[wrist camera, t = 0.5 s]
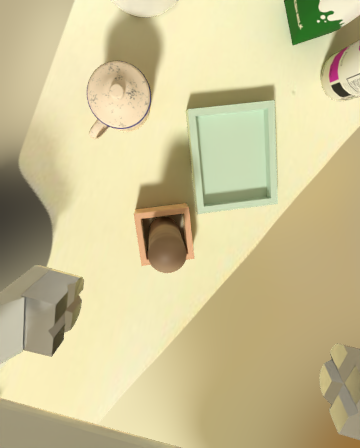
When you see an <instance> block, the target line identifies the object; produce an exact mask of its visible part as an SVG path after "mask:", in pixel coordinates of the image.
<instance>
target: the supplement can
mask: <svg viewBox="0 0 360 448" xmlns="http://www.w3.org/2000/svg"><path fill="white" fill-rule="evenodd" d="M321 84H322V88H323V90H324V92H325V94H326V95H327V96H328V97H329V98H331V99H332V100H336V101H346V100H350V99H353V98H357V97H360V40H359V41H357V42H355V43H353V44H352V45H350V46H348V47H346V48H345V49H343V50H341V51H339V52H337V53H336V54H334V55H332V56H331V57H330V58H329V59H328V60H327V61H326V63H325V65H324V67H323V69H322V74H321Z"/></svg>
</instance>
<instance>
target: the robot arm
mask: <svg viewBox="0 0 360 448" xmlns="http://www.w3.org/2000/svg"><path fill="white" fill-rule="evenodd" d="M111 1H112V2H113V3H114V4H115V5H116V6H117V7H119V8H120V9H121V10H123V11H125V12H126V13H128V14H131V15H134V16H138V17H154V16H157V15H160V14H162V13H165V12H166V11H168V10H169V9H170V8H172V7H173V6H174V5H175V4H176V3H177V1H178V0H111ZM83 285H84V279H83V277H80V276H77V275H73V274H70V273H66V272H63V271H59V270H55V269H52V268H48V267H44V266H40V265H35V266H33V267H32V268H31V269H29V270H28V271H27V272H26V273H24V274H23V275H22V276H20V277H19V278H18V279H17V280H15V281H14V282H13V283H11V284H10V285H9V286H8V287H6V288H5V289H4V290H3V291H0V364H1V363H3V362H5V361H7V360H8V359H10V358H12V357H14V356H16V355H17V354H19V353H21V352H22V351H23V350H25V351H30V352H34V353H38V354H42V355H47V356H51V357H52V356H53V354H54V353H55V351H56V350H57V348H58V347H59V346H60V344H61V343H62V341H63V340H64V332H67V331H69V330H71V329H72V327H73V326H74V324H75V322H76V320H77V318H78V316H79V313H80V309H81V303H82V300H81V298H80V296H79V294H80V292H81V291H82V290H83ZM330 355H331V358H332V360H330V361H328V362H326V363H324V365H323V367H322V369H321V371H320V379H319V383H320V389H321V391H322V394H323V397H324V398H325V399H326V400H327V401H328V402H329V403H330V404H331V407H330V410H329V412H330V414H331V416H332V419H333V421H334V424H335V426H336V429H337V431H338V433H339V434H342V435H345V436H348V437H351V438H355V439H358V440H360V349H358V348H354V347H350V346H346V345H342V344H338V343H337V344H336V345H335V346H333V348H332V350H331V352H330ZM0 448H181V447H177V446H173V445H170V444H166V443H162V442H159V441H155V440H151V439H148V438H144V437H141V436H137V435H133V434H129V433H126V432H122V431H119V430H115V429H111V428H108V427H104V426H100V425H97V424H93V423H90V422H86V421H82V420H79V419H75V418H71V417H68V416H64V415H61V414H57V413H53V412H50V411H46V410H42V409H39V408H35V407H31V406H28V405H24V404H20V403H17V402H13V401H10V400H6V399H2V398H0Z"/></svg>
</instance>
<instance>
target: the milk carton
mask: <svg viewBox="0 0 360 448" xmlns="http://www.w3.org/2000/svg"><path fill="white" fill-rule="evenodd" d="M284 3H285V8H286V13H287V18H288V23H289V28H290V33H291V39H292V44H293V45H295V44H298V43H301V42H304V41H307V40H310V39H313V38H316V37H320V36H323V35H326V34H329V33H331V32H334V31H336V30H338V29H340V28H341V27H343V26H345V25H346V24H347V23H349V22H350V21H352V20H353V19H355V18H356V17H358V16H359V15H360V0H285V1H284Z"/></svg>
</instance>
